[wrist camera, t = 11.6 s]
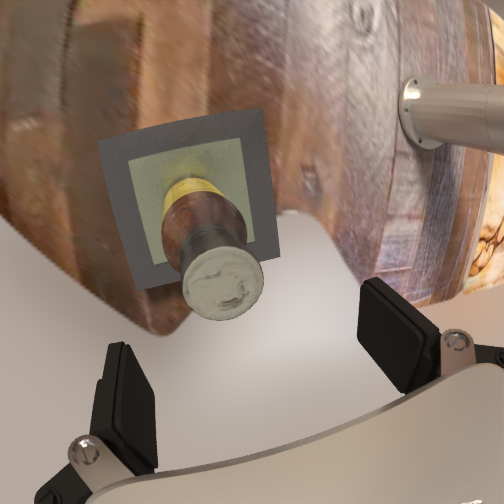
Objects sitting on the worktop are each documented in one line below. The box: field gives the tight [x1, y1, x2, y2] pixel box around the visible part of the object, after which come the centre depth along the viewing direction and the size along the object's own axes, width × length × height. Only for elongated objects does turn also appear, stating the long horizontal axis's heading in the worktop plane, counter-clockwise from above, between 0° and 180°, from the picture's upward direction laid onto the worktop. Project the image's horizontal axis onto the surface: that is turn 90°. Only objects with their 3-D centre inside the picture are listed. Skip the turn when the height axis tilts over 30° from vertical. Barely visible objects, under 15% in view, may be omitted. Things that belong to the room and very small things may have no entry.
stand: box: [97, 108, 280, 291], centre depth 34 cm, size 18×18×4 cm
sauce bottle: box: [161, 178, 264, 321], centre depth 23 cm, size 6×6×20 cm
